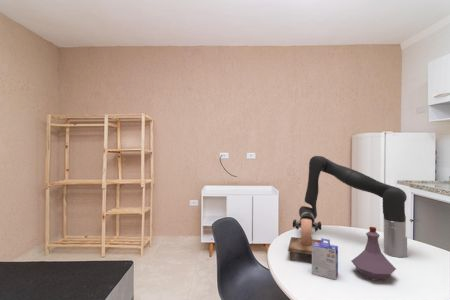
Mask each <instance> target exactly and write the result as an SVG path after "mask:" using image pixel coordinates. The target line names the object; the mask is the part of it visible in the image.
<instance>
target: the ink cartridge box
mask: <svg viewBox="0 0 450 300" xmlns="http://www.w3.org/2000/svg"><path fill="white" fill-rule="evenodd" d="M320 240H321V243H316V242H315V243H314V244H313V245H312V254H311V274H313V275H316V276H320V277H324V278H329V279H332V280H337V277H338V276H339V246H338V245H333V244H330V243H331V241H330V239H328V238H327V239H326V238H323V237H321V239H320ZM322 241H323V242H322ZM324 241H325V242H324Z"/></svg>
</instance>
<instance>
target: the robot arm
mask: <svg viewBox="0 0 450 300" xmlns="http://www.w3.org/2000/svg"><path fill="white" fill-rule="evenodd" d="M321 172H322V173H326V174H328V175H331V176H333V177H334V178H336V179H337V180H339V181H340V182H341V183H343V184H345V185H347V186H350V187H351V188H353V189H355V190H359V191H362V192H366V193H370V194H373V195H376V196H378V197H380V198H382V214H383V253H384V254H386V255H388V256H392V257H395V258H407V257H408V237H407V235H406V234H407V233H406V232H407V231H406V230H407V229H406V228H407V227H406V225H407V223H406V220H407V219H406V212H405V208H406V204H405V203H406V201H407V194H406V192H405V191H404V189H401V188H400V187H397V186H393V185H390V184H387V183H383V182H381V181H379V180H377V179H375V178H373V177H370V176H368V175H366V174H364V173H362V172H359V171H358V170H356V169H352V168H350V167H347V166H343V165H341V164H337V163H335V162H333V160H330V159H328V158H326V157H325V156H323V155H313V156H312V157H310V159H309V163H308V178H307V179H308V181H307V188H306V190H305V197H304V203H306V204H308V205H310V206H311V207H310V206H305V205H302V206H300V208H299V210H298V215H299V217H300V218H299V220H297V219H293V221H292V228H295V229H296V231H297V230H299V229H301V219H311V220H312V230H314V232H317V231H318V230H321V231H322V222H321V221H317V222H316V221H315V220H316V218H317V216H318V211H317V202H318V201H317V200H318V196H319V192H320V191H319V178H320V175H321Z"/></svg>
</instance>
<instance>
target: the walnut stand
mask: <svg viewBox="0 0 450 300" xmlns="http://www.w3.org/2000/svg"><path fill="white" fill-rule="evenodd" d="M315 242H316V243H321V239H320V240H319V239H313V238H312V245H313V244H314V243H315ZM322 242H324V241H322ZM312 245H311V246H304V245H302V244H301V237H295V236H294V237H293V236H291V237H290V240H289V245H288V248H287V251H288V252H289V253H288V254H289V256H288V257H289V261H292V262H294V261H295V253H299V254H306V255H312Z"/></svg>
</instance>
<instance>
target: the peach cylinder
mask: <svg viewBox="0 0 450 300" xmlns="http://www.w3.org/2000/svg"><path fill="white" fill-rule="evenodd" d="M312 232H313V229H312V220H311V219H301V228H300V235H301V237H300V238H301V244H302V245H304V246H311V245H312V239H313V237H312V236H313V233H312Z"/></svg>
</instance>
